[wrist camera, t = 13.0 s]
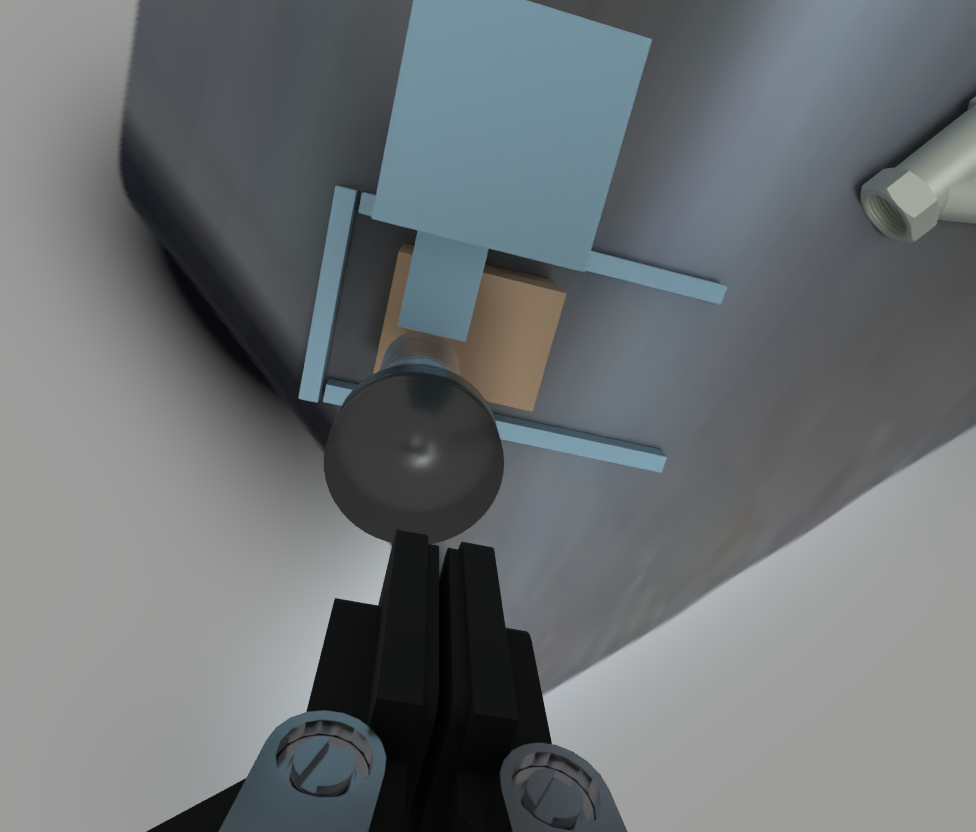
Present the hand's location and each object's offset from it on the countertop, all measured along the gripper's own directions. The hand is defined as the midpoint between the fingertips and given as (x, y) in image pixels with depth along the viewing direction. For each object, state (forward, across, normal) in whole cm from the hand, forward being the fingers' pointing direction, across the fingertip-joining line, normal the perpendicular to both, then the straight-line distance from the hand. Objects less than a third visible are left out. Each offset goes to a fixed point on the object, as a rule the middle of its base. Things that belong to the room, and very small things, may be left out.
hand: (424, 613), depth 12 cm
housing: (+27, -2, 0) cm, 27 cm away
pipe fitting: (+28, -25, -13) cm, 39 cm away
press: (+27, -4, -2) cm, 27 cm away
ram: (+16, 0, 0) cm, 16 cm away
